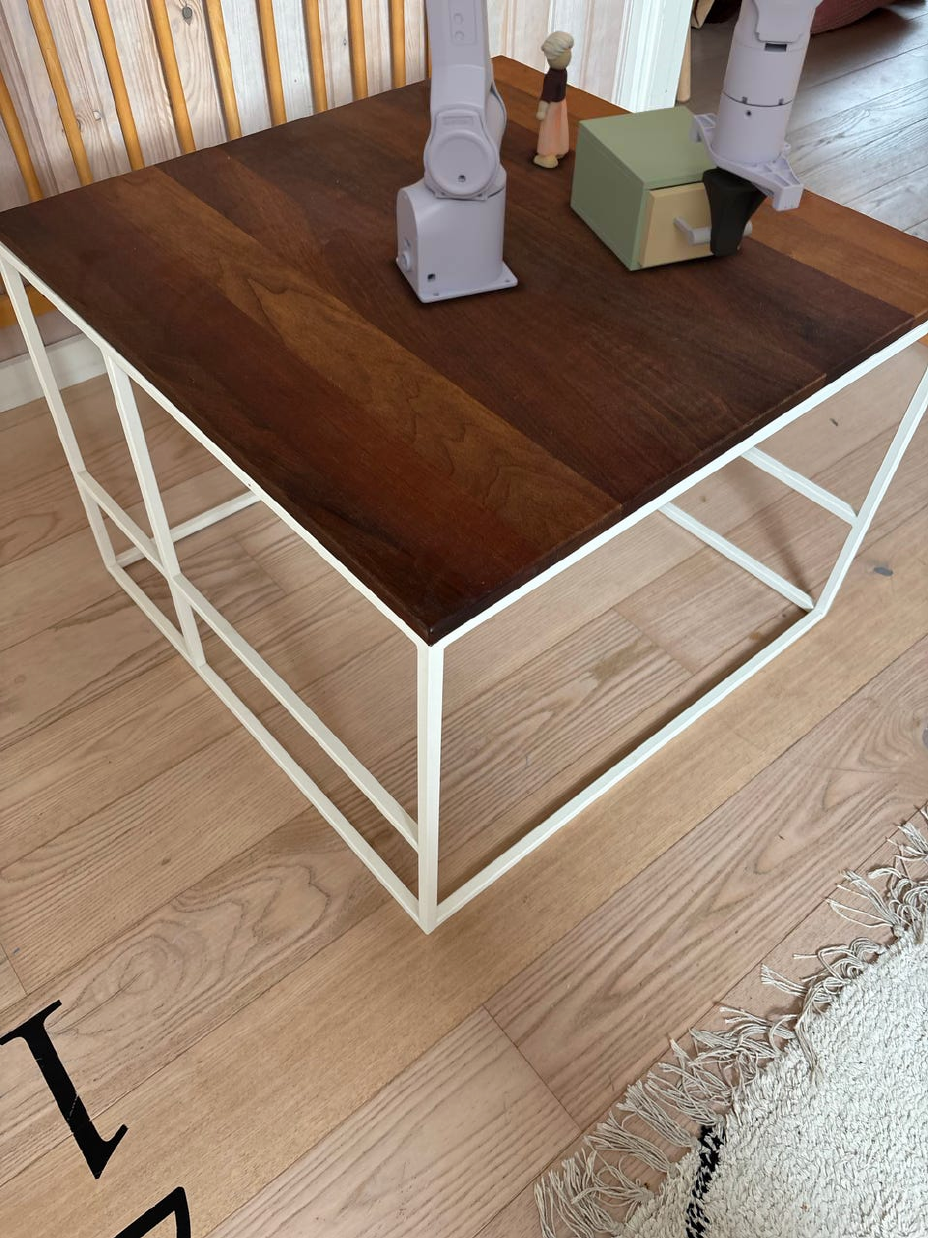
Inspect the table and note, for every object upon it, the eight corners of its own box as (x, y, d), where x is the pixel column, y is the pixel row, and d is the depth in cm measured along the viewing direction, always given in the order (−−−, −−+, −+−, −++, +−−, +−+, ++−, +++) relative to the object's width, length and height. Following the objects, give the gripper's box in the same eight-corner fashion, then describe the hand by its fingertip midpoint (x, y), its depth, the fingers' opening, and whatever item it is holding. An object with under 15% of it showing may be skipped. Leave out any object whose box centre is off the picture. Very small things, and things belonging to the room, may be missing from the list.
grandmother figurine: (563, 173, 108) (574, 46, 98) (528, 170, 108) (536, 42, 99) (572, 143, 113) (584, 19, 103) (538, 140, 113) (547, 16, 104)
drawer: (761, 270, 93) (780, 199, 88) (664, 289, 91) (677, 218, 86) (675, 191, 104) (688, 124, 98) (585, 207, 101) (593, 138, 96)
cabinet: (735, 250, 97) (756, 163, 91) (630, 271, 95) (644, 181, 88) (668, 189, 106) (683, 104, 99) (570, 206, 103) (578, 120, 96)
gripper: (854, 121, 76) (805, 284, 86) (753, 54, 85) (720, 208, 95) (775, 134, 74) (735, 298, 84) (680, 63, 83) (654, 220, 93)
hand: (722, 251), depth 90 cm, fingers closed, pressing on drawer
